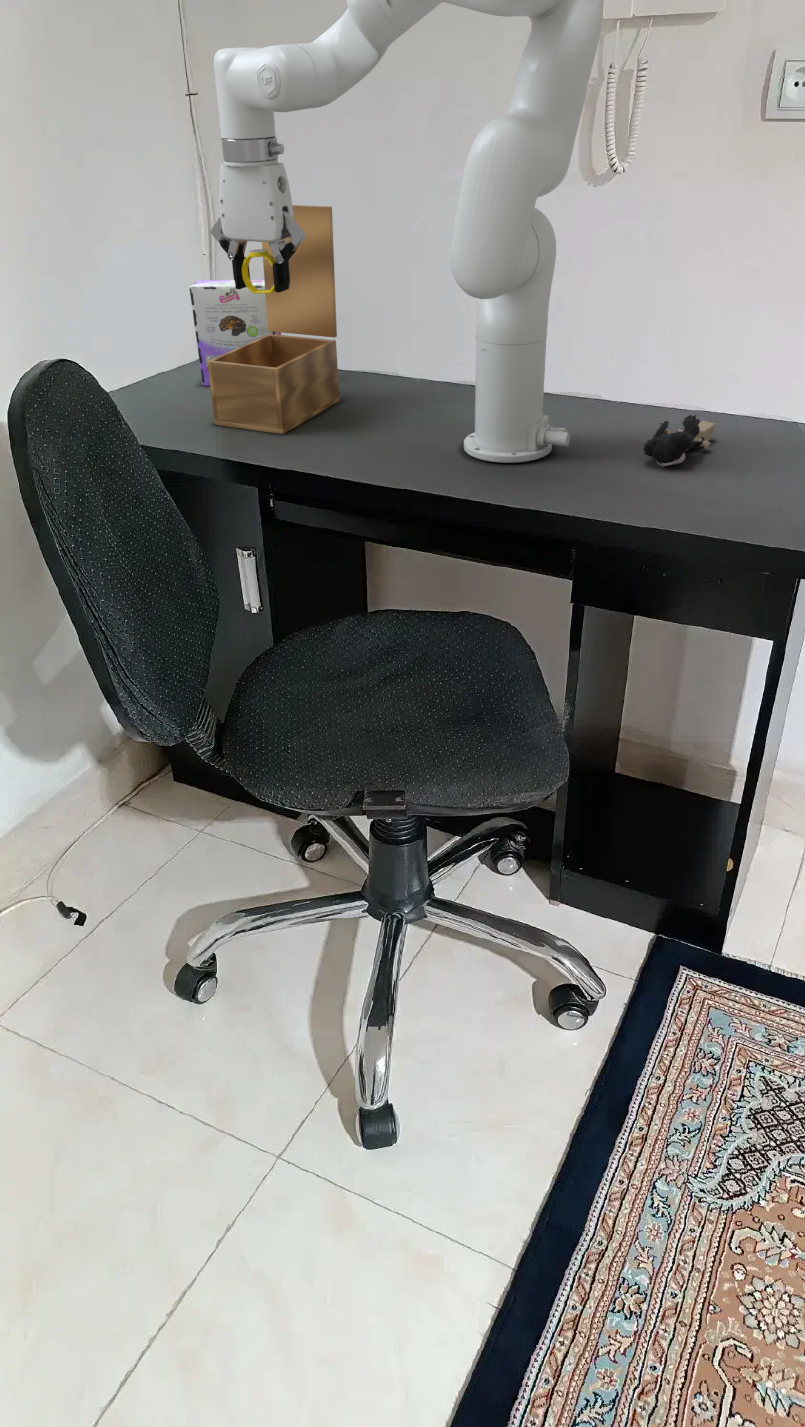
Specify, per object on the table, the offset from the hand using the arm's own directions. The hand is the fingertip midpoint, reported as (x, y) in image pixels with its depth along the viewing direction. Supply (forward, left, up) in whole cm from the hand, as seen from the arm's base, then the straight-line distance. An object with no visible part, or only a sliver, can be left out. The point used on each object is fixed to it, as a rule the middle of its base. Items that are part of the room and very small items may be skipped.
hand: (262, 287), depth 155 cm
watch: (0, 0, -1) cm, 1 cm away
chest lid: (0, -10, 0) cm, 10 cm away
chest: (0, -1, -19) cm, 19 cm away
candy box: (+15, -14, -19) cm, 28 cm away
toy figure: (-63, -5, -19) cm, 66 cm away
